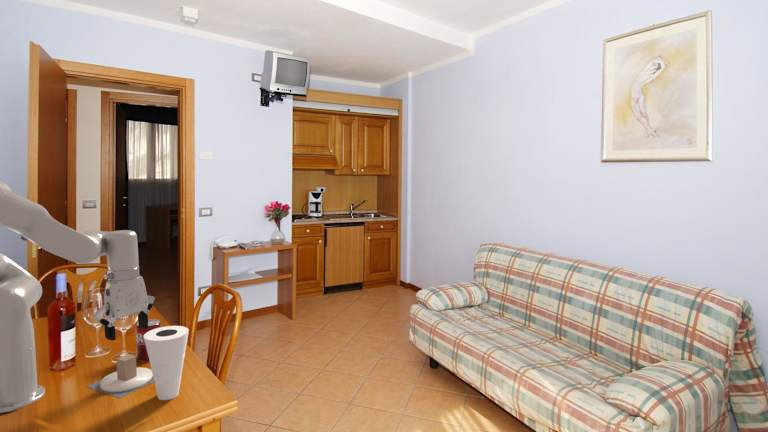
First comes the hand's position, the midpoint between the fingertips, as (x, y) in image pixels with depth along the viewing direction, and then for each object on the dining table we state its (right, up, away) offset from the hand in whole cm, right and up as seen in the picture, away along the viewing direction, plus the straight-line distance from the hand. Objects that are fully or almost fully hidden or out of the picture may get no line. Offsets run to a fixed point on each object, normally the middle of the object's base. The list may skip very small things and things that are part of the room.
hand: (127, 333), depth 120 cm
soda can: (-3, -13, +18) cm, 22 cm away
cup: (+15, -16, -6) cm, 22 cm away
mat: (-1, -15, +1) cm, 15 cm away
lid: (-1, -14, +1) cm, 14 cm away
